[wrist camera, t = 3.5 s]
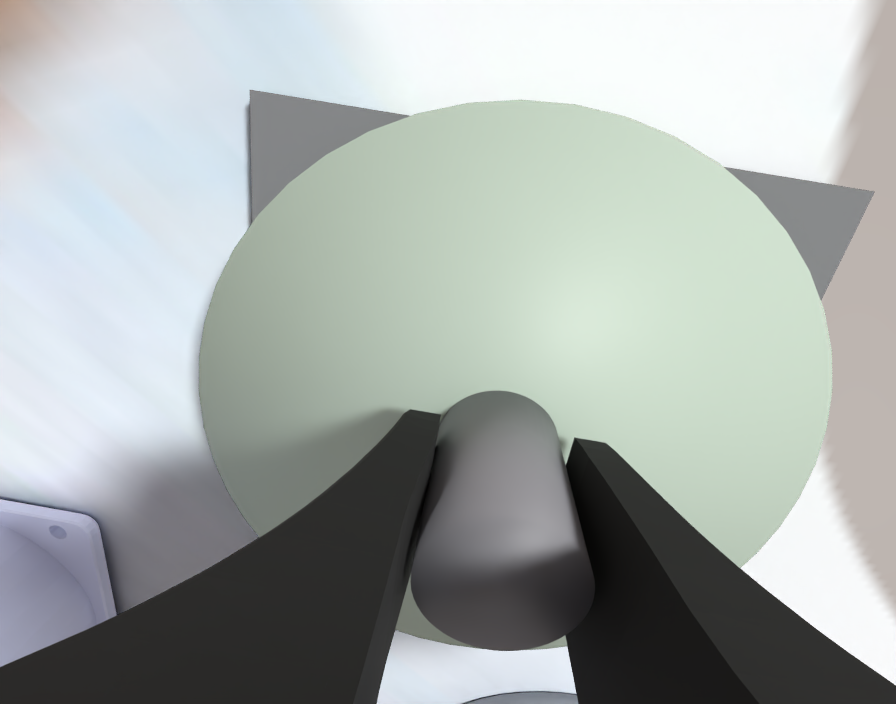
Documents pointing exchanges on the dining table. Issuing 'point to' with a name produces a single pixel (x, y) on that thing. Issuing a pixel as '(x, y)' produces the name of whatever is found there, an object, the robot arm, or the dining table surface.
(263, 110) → the mat
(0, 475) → the dining table surface
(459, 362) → the lid
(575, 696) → the bowl
